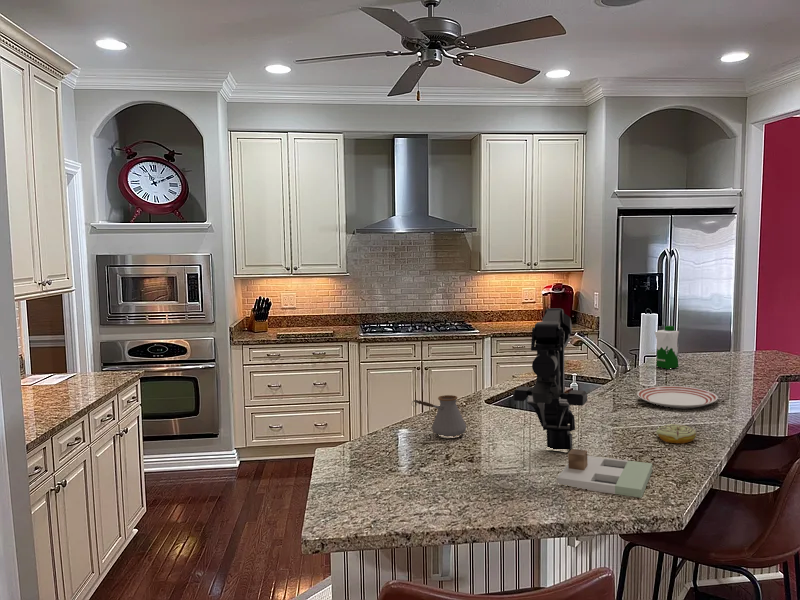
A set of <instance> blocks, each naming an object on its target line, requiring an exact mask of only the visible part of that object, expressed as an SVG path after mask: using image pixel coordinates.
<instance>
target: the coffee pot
mask: <svg viewBox="0 0 800 600" xmlns="http://www.w3.org/2000/svg"><path fill="white" fill-rule="evenodd" d="M437 399H438V400H439V403H440V404H439V405H435V404H432V403H429V402H427V401H421V400H420V399H419V400H417V399H414V400H413V401H412V402H411V406H412V407H414V405H413V403H414V402H415V403H416V404H415V406H418V405H422V406H425V407H429V408H434V409H437V412H436V413H435V414H436V415H435V417H434V420H433V423H432V425H431V430H432V432H433V433H434V434H435V433H436V434H439V435H444V436H456V435H460V434H462V435H463V434H464V433H465V432H466V429H467V424H466V421H465V420H464V417H463V416H462V414H461V413H462V412H461V411H460V410H459V407H458V405H457V400H458V396H457V395H453V394H451V395H450V394H447V395H440V396H438V397H437ZM436 434H435V435H436Z"/></svg>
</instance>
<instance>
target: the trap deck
mask: <svg viewBox="0 0 800 600" xmlns="http://www.w3.org/2000/svg"><path fill="white" fill-rule="evenodd" d="M587 463H588V465H587V467H586V468H585V470H577V469H570V468H569V466H568V463H567V464H566V466H565V467H563V470H561V472H559V474H558V476H557V477H556V483H559V484H563V485H568V486H572V487H577V488H576V489H579V488H582V489H581V490H585V489H587V491H594V492H598V493H599V492H600V493H606V494H611V495H612V494H614V495H620V496H626V497H635V498H640V499H641V498H643V496H644V493H645V490H646V487H647V485H648V483H649V481H650V478H651V476H652V472H653V463H651V462H643V461H635V460H634V461H633V460H626V459H618V458H611V457H601V456H593V455H587ZM572 487H571V488H572Z"/></svg>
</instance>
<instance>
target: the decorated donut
mask: <svg viewBox="0 0 800 600" xmlns="http://www.w3.org/2000/svg"><path fill="white" fill-rule="evenodd" d="M655 433H656V435H657V436H658V437H659V439H660V440H661V441H663V442H665V443H669V444H687V443H691V442H693V441H694V440H695V438H696V436H697V432H696V430H695V428H693V427H690V426H688V425H683V424H678V423H667V424H664V425H661V426H659V428H658V429H657V430H656V432H655Z"/></svg>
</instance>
